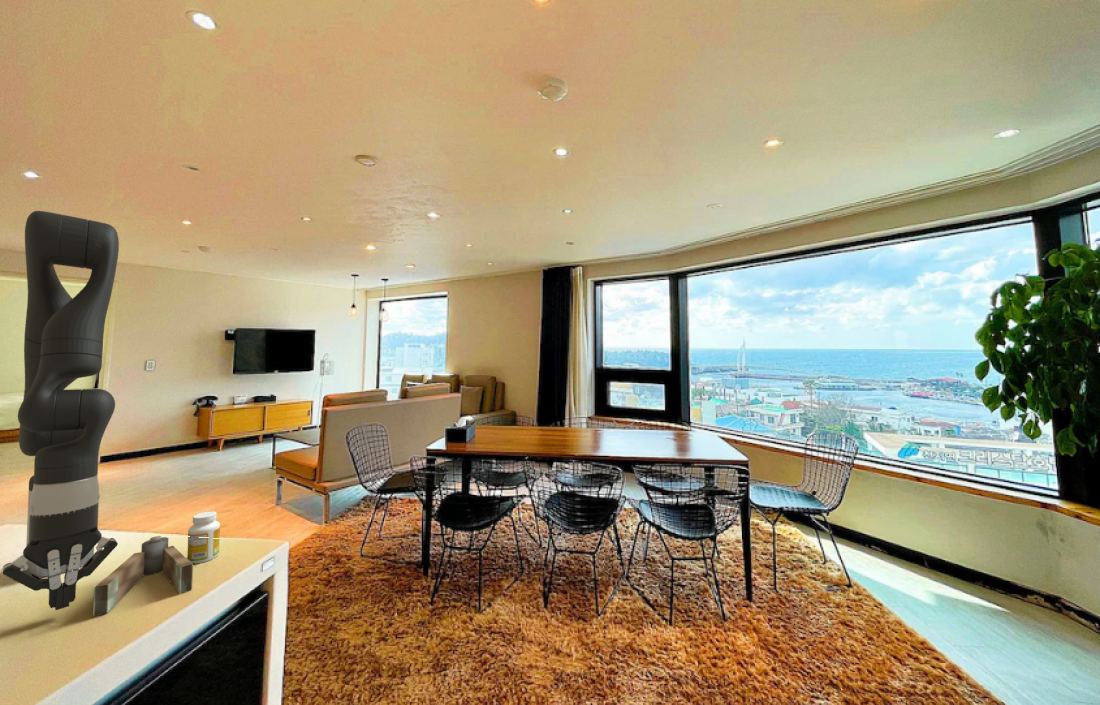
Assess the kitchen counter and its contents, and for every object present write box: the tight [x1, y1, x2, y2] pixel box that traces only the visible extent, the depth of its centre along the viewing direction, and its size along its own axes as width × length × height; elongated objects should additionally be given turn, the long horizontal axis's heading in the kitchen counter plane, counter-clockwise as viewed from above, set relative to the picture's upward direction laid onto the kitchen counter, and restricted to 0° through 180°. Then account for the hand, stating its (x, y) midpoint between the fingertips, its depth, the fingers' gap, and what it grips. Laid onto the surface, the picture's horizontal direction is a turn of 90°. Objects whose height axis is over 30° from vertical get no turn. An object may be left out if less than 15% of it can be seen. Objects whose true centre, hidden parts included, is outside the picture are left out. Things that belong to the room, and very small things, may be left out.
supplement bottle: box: [186, 511, 221, 564], centre depth 88 cm, size 5×5×10 cm
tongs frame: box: [140, 535, 194, 595], centre depth 79 cm, size 18×4×7 cm, turn 56°
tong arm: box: [93, 551, 145, 617], centre depth 74 cm, size 13×2×5 cm, turn 26°
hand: (61, 606), depth 68 cm, fingers closed
